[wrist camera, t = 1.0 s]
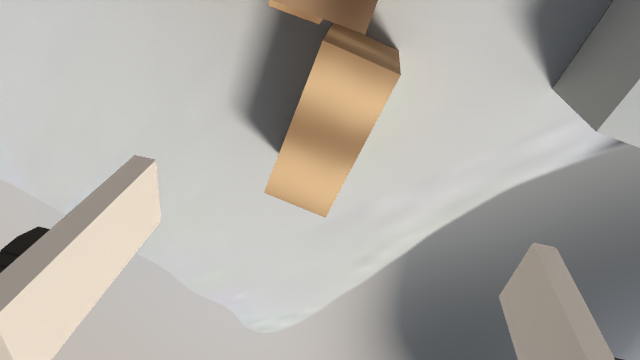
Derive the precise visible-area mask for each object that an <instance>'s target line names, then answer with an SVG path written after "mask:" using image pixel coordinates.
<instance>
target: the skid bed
mask: <svg viewBox="0 0 640 360" xmlns="http://www.w3.org/2000/svg"><path fill="white" fill-rule="evenodd" d="M268 6H270V7H273V8H276V9H278V10H281V11H284V12H287V13H289V14H292V15H295V16H297V17H300V18H303V19H305V20H308V21H311V22H314V23H316V24H320V23H321V22H322V20H323V19H322V18H319V17H317V16H314V15H311V14H308V13H306V12H303V11H300V10H298V9H295V8H292V7H290V6H287V5H284V4H282V3H279V2H276V1H273V0H269V5H268Z"/></svg>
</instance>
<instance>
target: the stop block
mask: <svg viewBox="0 0 640 360" xmlns="http://www.w3.org/2000/svg"><path fill="white" fill-rule="evenodd" d="M553 90H554V91H555V92H556V93H557V94H558V95H559V96H560V97H561V98H562V99H563V100H564V101H565V102H566V103H567V104H568V105H569V106H570V107H571V108H572V109H573V110H574V111H575V112H576V113H578V114H579V115H580V116H581V117H582V118H583V119H584V120H585V121H586V122H587V123H588V124H589V125H590V126H591V127H592V128H593V129H594V130H595V131H596V132H598V133H601V134H604V135H607V136H609V137H612V138H615V139H617V140H620V141H623V142H626V143H628V144H631V145H634V146H636V147H639V148H640V0H614V1H613V2H612V4H611V5H610V6H609V8H608V9H607V11H606V12H605V14H604V15H603V17H602V18H601V19H600V21H599V22H598V24H597V25H596V27H595V28H594V30H593V31H592V32H591V34H590V35H589V37H588V38H587V40H586V41H585V42H584V44H583V45H582V47H581V48H580V50H579V51H578V53H577V54H576V55H575V57H574V58H573V60H572V61H571V63H570V64H569V65H568V67H567V68H566V70H565V71H564V73H563V74H562V76H561V77H560V78H559V80H558V81H557V83H556V84H555V86H554V87H553Z"/></svg>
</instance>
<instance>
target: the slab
mask: <svg viewBox="0 0 640 360" xmlns="http://www.w3.org/2000/svg"><path fill="white" fill-rule="evenodd" d="M273 1H276V2H279V3H282V4H284V5H287V6H290V7H292V8H295V9H298V10H300V11H303V12H306V13H308V14H311V15H314V16H317V17H319V18H322V19H325V20H327V21H330V22H333V23H335V24H338V25H341V26H344V27H346V28H349V29H352V30H354V31H357V32H360V33H362V34H366V31H367V28H368V26H369V23H370V20H371V17H372V15H373V12H374V9H375V7H376V4H377V1H378V0H273Z"/></svg>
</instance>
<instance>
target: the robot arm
mask: <svg viewBox="0 0 640 360" xmlns="http://www.w3.org/2000/svg"><path fill="white" fill-rule="evenodd" d="M160 221H161V210H160V199H159V188H158V177H157V166H156V160H154V159H150V158H145V157H141V156H136V155H134V156H133V157H132V158H131V159H130V160H129V161H128V162H126V163H125V164H124V165H123V166H122V167H121V168H120V169H118V170H117V171H116V172H115V173H114V174H113V175H112V176H111V177H109V178H108V179H107V180H106V181H105V182H104V183H103V184H101V185H100V186H99V187H98V188H97V189H96V190H95V191H93V192H92V193H91V194H90V195H89V196H88V197H87V198H85V199H84V200H83V201H82V202H81V203H80V204H79V205H77V206H76V207H75V208H74V209H73V210H72V211H71V212H69V213H68V214H67V215H66V216H65V217H64V218H63V219H62V220H61V221H59V222H58V223H57V224H56V225H55V226H54V227H52V228H51V229H46V228H42V227H36V228H34V229H32V230H30V231H28V232H26V233H24V234H22V235H20V236H18V237H17V238H15V239H14V240H13V241H11V242H10V243H9V244H8V245H6V246H5V247H4V248H3V249H2V250H1V252H0V360H51V359H52V358H53V357H54V356H55V354H56V353H57V352H58V351H59V349H60V348H61V347H62V345H63V344H64V343H65V342H66V340H67V339H68V338H69V337H70V335H71V334H72V333H73V332H74V330H75V329H76V328H77V327H78V325H79V324H80V323H81V321H82V320H83V319H84V318H85V316H86V315H87V314H88V312H89V311H90V310H91V309H92V308H93V306H94V305H95V304H96V302H97V301H98V300H99V299H100V297H101V296H102V295H103V294H104V292H105V291H106V290H107V288H108V287H109V286H110V285H111V283H112V282H113V281H114V280H115V278H116V277H117V276H118V275H119V273H120V272H121V271H122V270H123V268H124V267H125V266H126V264H127V263H128V262H129V261H130V259H131V258H132V257H133V256H134V254H135V253H136V252H137V251H138V249H139V248H140V247H141V246H142V244H143V243H144V242H145V240H146V239H147V238H148V237H149V235H150V234H151V233H152V232H153V230H154V229H155V228H156V227H157V225H158V224H159V223H160ZM499 298H500V301H501V305H502V308H503V311H504V315H505V318H506V321H507V325H508V328H509V331H510V335H511V337H512V341H513V344H514V347H515V351H516V354H517V358H518V360H622V359H618V358H614V357H613V355H612V353H611V351H610V349H609V347H608V345H607V344H606V342H605V340H604V338H603V336H602V334H601V332H600V331H599V328H598V326H597V325H596V323H595V321H594V319H593V317H592V315H591V313H590V311H589V310H588V307H587V306H586V304H585V302H584V300H583V298H582V296H581V294H580V293H579V290H578V289H577V287H576V285H575V283H574V281H573V279H572V277H571V276H570V273H569V271H568V270H567V268H566V266H565V264H564V262H563V260H562V258H561V256H560V255H559V253H558V251H557V249H556V248H555V247H550V246H546V245H541V244H537V243H532V245H531V247H530V248H529V250H528V251H527V253H526V255H525V256H524V258H523V259H522V261H521V263H520V264H519V266H518V267H517V269H516V270H515V272H514V274H513V275H512V277H511V279H510V280H509V282H508V283H507V285H506V286H505V288H504V289H503V291H502V293H501V294H500V296H499Z"/></svg>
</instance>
